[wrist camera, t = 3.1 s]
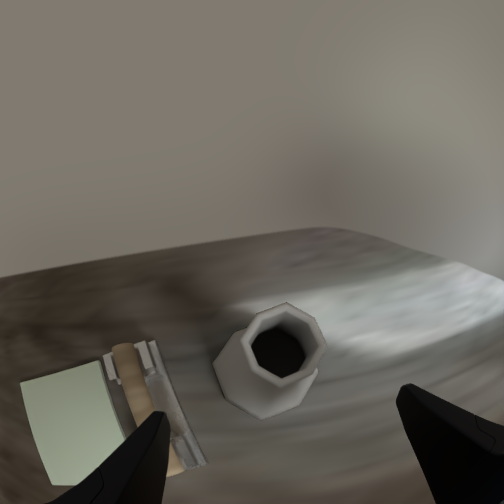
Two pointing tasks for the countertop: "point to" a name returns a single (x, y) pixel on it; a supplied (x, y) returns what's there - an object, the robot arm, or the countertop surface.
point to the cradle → (164, 401)
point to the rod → (139, 393)
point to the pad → (72, 421)
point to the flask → (271, 361)
